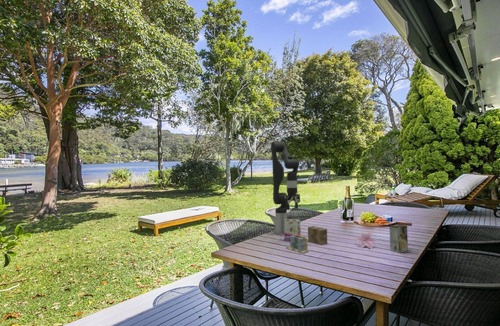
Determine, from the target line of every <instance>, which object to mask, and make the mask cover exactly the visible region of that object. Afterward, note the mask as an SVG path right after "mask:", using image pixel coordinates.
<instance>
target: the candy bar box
mask: <svg viewBox="0 0 500 326" xmlns="http://www.w3.org/2000/svg"><path fill="white" fill-rule="evenodd" d="M301 232H302V231H301V219H297V218H296V219H294V218H287V219H285V220H284V235H283V238H284V240H283V241H286V242H290V236H292V234H297V235H301V234H302V233H301ZM301 236H302V235H301Z"/></svg>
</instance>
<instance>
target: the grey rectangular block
mask: <svg viewBox="0 0 500 326" xmlns="http://www.w3.org/2000/svg"><path fill="white" fill-rule="evenodd" d="M289 243H290V244H289V246H285V248H286V249H287V250H290V251H293V252H297V253H300V254H303V255H304V254H307V253H310V251H308V237H306V236H305V235H297V234H292V236H290V241H289Z"/></svg>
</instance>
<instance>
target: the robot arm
mask: <svg viewBox="0 0 500 326" xmlns="http://www.w3.org/2000/svg"><path fill="white" fill-rule="evenodd" d="M270 150H271V160H272V181H273V183H272V186H273V189H272V192H273V193H272V201H273V204H275V205H280V206H278V207H276V208H275V212H274V213H275V220H274V234H276V235H279V236H280V235H281V236H284V220H285V219H288V211H290V209H291V208H290V204H291V203H292V202H294V209H298V208H299V203H300V202H301V195H300V193H298V177H297V175H298V171H299V168H300V161H299V160H298V159H296V158H293V156H292V155H291V153H290V152H289V150H288V147H287V146H286V142H284V141H278V140H277V141H276V140H275V141H272V142H271V144H270ZM277 153H278V154H279V153H280V157H281V160H282V161H283V164H284V166H283V164H282V163H281V162H280V160H279V158H278V155H277ZM284 167H285V168H284ZM285 169H287V170H292V171H289V172H287V174H286V192H280V186H281V184H282V183H283V180H284V178H285Z"/></svg>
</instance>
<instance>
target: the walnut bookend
mask: <svg viewBox="0 0 500 326" xmlns="http://www.w3.org/2000/svg"><path fill="white" fill-rule="evenodd" d="M307 243H312V244H316V245H320V246H324V245H327V244H328V228H324V227H319V226H314V225H312V226H309V227H307Z"/></svg>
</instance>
